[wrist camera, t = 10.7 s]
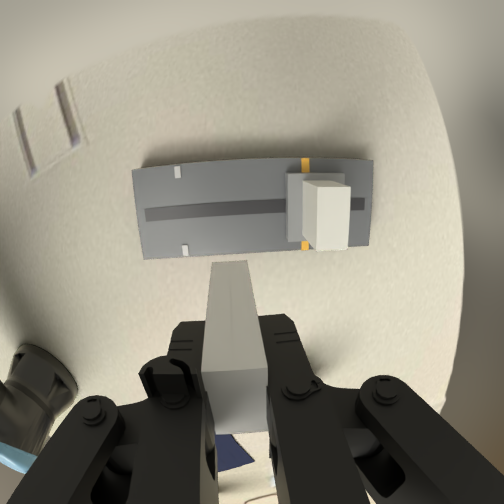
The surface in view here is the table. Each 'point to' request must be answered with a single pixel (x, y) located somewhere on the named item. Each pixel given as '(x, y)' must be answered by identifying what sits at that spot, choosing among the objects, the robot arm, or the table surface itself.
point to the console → (235, 205)
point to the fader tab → (318, 210)
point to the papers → (229, 453)
